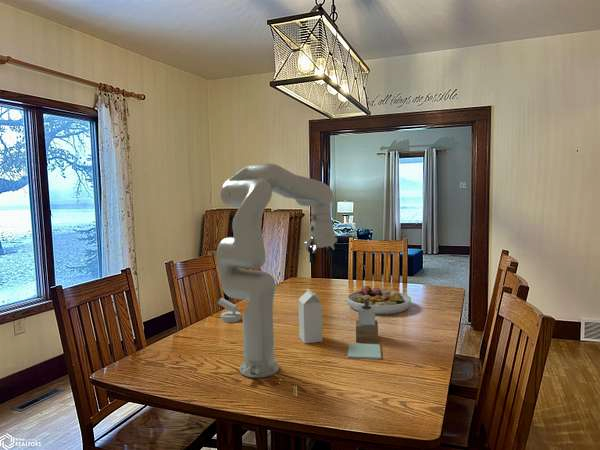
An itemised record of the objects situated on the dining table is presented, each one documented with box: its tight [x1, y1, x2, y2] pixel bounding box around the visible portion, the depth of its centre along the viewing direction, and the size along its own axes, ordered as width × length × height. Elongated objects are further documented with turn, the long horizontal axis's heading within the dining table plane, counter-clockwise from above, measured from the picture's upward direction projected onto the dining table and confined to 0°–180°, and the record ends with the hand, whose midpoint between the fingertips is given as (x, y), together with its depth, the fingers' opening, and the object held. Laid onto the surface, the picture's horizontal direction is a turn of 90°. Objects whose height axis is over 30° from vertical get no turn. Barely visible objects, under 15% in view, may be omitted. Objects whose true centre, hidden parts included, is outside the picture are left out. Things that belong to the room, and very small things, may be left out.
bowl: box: [346, 285, 412, 316], centre depth 201 cm, size 30×30×8 cm
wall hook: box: [217, 297, 242, 324], centre depth 186 cm, size 9×10×10 cm
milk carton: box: [298, 288, 324, 344], centre depth 159 cm, size 7×7×19 cm
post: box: [355, 299, 379, 344], centre depth 159 cm, size 8×8×15 cm
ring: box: [358, 305, 376, 326], centre depth 158 cm, size 6×6×6 cm
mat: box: [347, 342, 382, 360], centre depth 146 cm, size 12×11×1 cm
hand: (321, 261), depth 167 cm, fingers open, 9 cm apart
